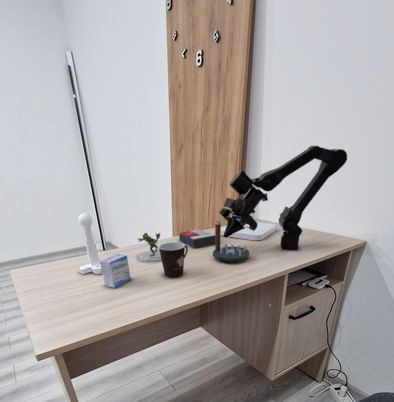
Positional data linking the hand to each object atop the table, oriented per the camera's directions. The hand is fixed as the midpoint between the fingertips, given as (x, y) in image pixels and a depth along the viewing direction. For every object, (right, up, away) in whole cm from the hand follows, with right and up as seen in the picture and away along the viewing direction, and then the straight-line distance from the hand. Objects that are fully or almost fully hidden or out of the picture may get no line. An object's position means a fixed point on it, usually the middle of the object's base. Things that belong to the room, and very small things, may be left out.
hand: (224, 236), depth 116 cm
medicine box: (-37, -20, -16) cm, 45 cm away
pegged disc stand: (+2, -7, -1) cm, 7 cm away
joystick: (-47, -15, -6) cm, 50 cm away
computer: (+14, +10, +31) cm, 35 cm away
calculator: (-11, +3, +20) cm, 23 cm away
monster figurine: (-28, -7, +5) cm, 29 cm away
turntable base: (+2, -8, 0) cm, 9 cm away
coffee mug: (-17, -16, -11) cm, 26 cm away
